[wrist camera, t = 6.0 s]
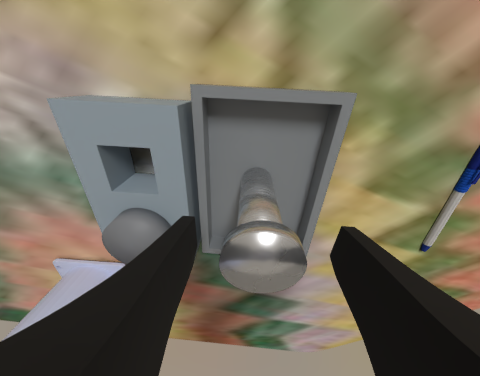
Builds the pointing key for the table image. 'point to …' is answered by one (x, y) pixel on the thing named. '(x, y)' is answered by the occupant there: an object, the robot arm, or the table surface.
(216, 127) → the tray
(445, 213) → the ballpoint pen
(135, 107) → the block
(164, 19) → the table surface
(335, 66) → the table surface
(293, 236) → the lock pin
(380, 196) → the table surface
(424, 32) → the table surface
